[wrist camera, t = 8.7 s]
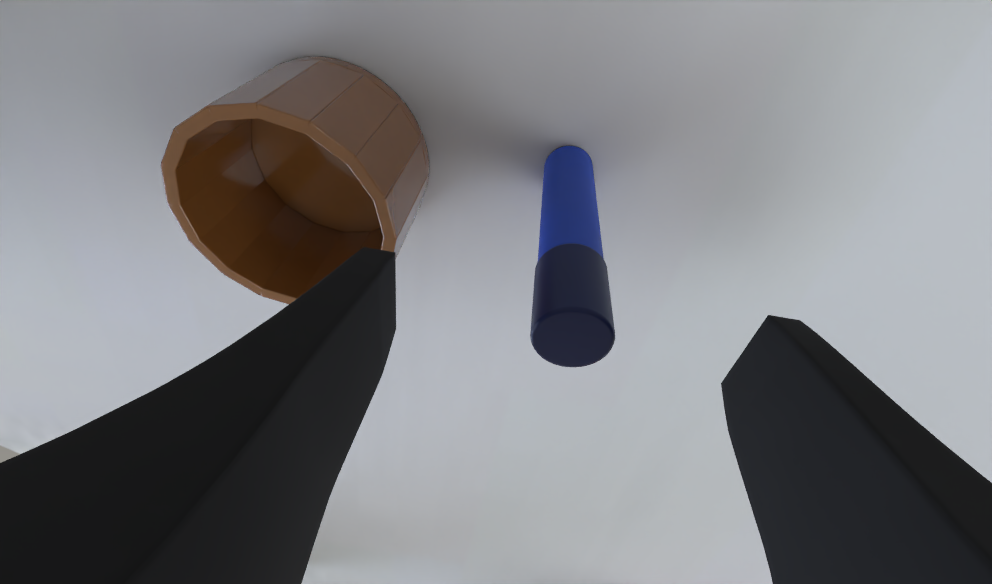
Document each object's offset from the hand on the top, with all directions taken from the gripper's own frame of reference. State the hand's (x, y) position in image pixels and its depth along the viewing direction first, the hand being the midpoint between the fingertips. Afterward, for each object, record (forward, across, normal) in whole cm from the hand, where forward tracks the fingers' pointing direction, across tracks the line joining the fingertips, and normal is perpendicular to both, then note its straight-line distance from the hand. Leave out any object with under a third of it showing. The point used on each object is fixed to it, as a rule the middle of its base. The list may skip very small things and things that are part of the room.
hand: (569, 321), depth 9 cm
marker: (+7, 0, 0) cm, 7 cm away
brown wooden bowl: (+7, +7, +1) cm, 10 cm away
